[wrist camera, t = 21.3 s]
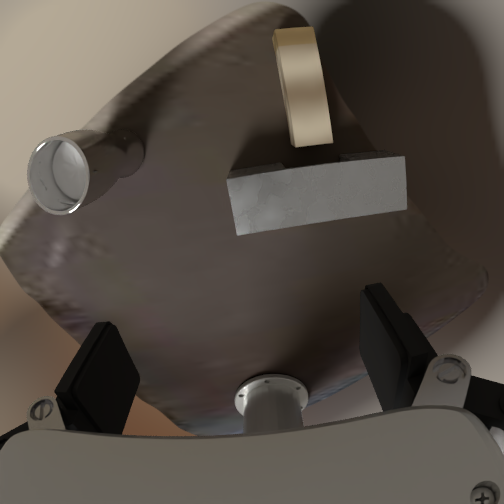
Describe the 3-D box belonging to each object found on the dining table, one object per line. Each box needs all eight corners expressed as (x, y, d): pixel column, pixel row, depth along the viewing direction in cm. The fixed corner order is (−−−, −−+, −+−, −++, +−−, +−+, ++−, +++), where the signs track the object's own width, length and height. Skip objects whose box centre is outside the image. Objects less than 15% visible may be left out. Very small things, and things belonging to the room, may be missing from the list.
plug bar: (324, 140, 35) (333, 142, 31) (291, 144, 35) (295, 147, 32) (306, 35, 30) (313, 26, 26) (272, 38, 30) (274, 29, 26)
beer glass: (150, 178, 36) (97, 214, 23) (100, 183, 37) (33, 220, 23) (146, 121, 34) (86, 126, 20) (94, 129, 34) (20, 142, 20)
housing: (387, 197, 38) (406, 209, 32) (238, 219, 39) (237, 235, 34) (384, 150, 35) (404, 156, 30) (229, 170, 36) (226, 179, 31)
